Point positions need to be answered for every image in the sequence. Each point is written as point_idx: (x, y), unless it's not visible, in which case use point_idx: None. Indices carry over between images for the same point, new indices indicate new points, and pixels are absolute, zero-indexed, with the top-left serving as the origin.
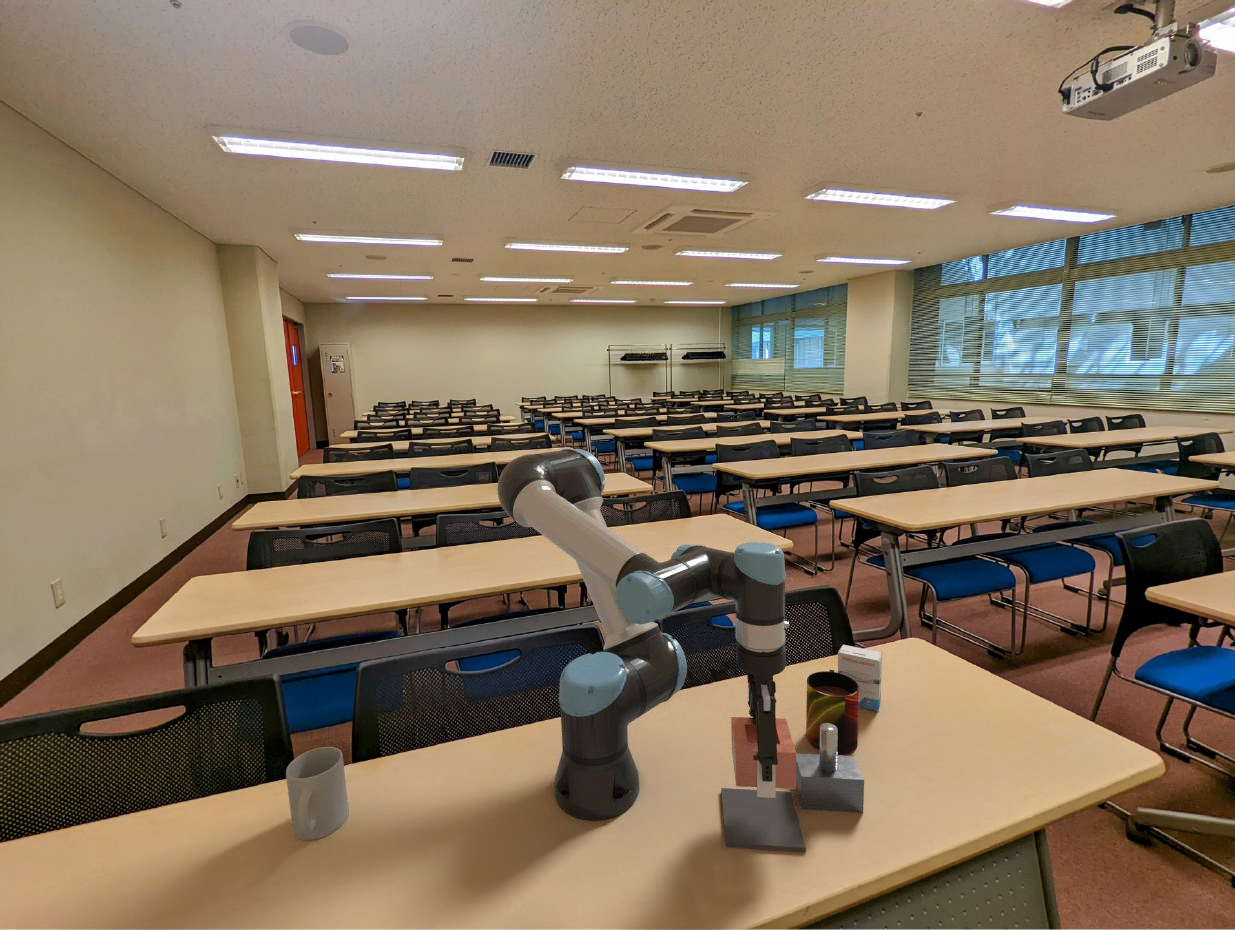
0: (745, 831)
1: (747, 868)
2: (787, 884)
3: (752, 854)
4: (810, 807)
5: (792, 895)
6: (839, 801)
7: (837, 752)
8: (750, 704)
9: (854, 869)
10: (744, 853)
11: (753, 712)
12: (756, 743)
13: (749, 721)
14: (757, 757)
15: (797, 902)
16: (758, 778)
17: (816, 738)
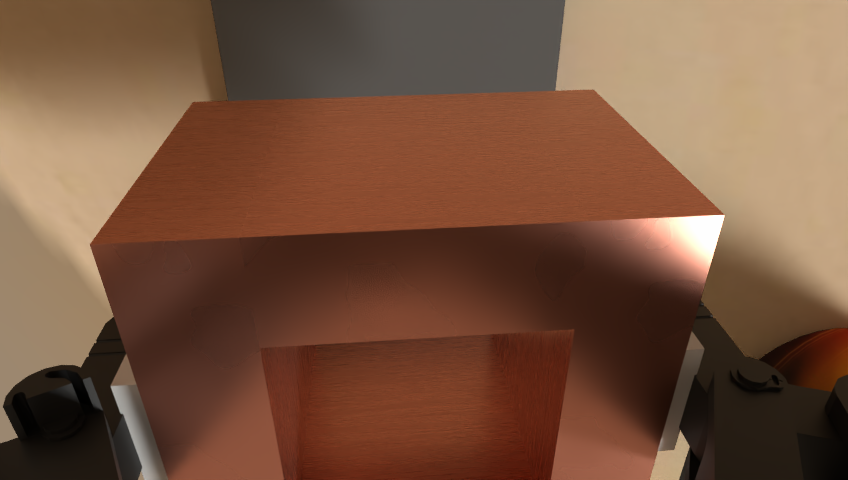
0: (292, 60)
1: (120, 49)
2: (97, 188)
3: (201, 76)
4: None
5: (55, 198)
6: None
7: None
8: (772, 477)
9: None
10: (197, 43)
11: (708, 430)
12: (266, 411)
13: (616, 367)
14: (16, 426)
15: (32, 210)
16: None
17: (799, 378)
